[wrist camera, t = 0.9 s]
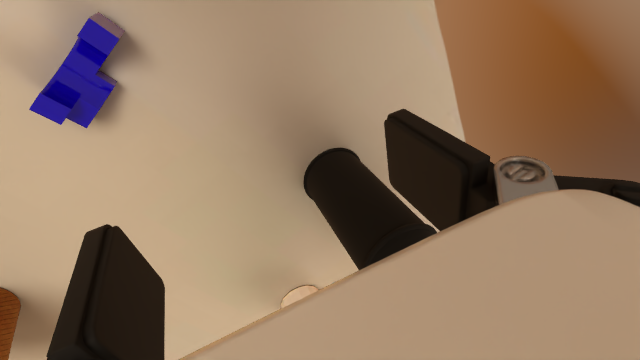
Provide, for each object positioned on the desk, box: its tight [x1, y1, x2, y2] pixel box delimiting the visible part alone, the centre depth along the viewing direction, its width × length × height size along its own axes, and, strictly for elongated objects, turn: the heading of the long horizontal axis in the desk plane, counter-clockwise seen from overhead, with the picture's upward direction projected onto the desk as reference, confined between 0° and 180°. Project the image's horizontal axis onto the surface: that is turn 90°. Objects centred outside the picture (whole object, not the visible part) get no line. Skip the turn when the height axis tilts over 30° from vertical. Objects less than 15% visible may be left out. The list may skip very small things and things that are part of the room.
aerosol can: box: [304, 148, 437, 270], centre depth 34 cm, size 8×8×20 cm
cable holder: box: [29, 12, 125, 128], centre depth 25 cm, size 8×4×4 cm, turn 137°
